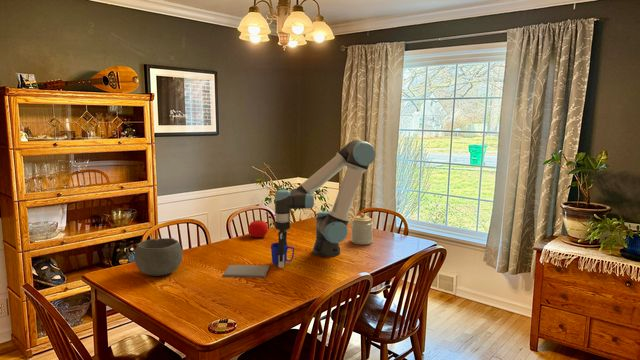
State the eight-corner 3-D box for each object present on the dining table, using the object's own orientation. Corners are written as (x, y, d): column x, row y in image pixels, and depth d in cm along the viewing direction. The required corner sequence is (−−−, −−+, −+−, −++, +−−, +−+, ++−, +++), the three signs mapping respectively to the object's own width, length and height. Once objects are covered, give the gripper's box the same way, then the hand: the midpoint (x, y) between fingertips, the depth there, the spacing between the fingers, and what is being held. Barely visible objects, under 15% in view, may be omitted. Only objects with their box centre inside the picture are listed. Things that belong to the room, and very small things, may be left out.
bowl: (137, 284, 190) (135, 252, 188) (133, 269, 209) (132, 239, 206) (186, 277, 200) (185, 245, 198) (178, 263, 218) (177, 234, 216)
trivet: (269, 267, 214) (269, 265, 214) (265, 277, 200) (265, 275, 200) (229, 266, 215) (229, 264, 214) (222, 276, 201) (222, 274, 201)
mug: (292, 267, 214) (292, 248, 212) (268, 265, 216) (268, 246, 215) (296, 262, 222) (296, 243, 220) (273, 260, 224) (273, 242, 222)
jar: (376, 241, 261) (377, 212, 258) (366, 246, 250) (367, 216, 248) (357, 237, 268) (357, 210, 265) (347, 242, 257) (347, 213, 255)
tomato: (266, 239, 262) (266, 222, 261) (246, 239, 262) (246, 222, 261) (269, 234, 273) (269, 218, 272) (250, 234, 274) (249, 217, 272)
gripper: (277, 215, 227) (278, 256, 230) (271, 226, 205) (272, 271, 208) (292, 215, 226) (292, 256, 230) (287, 226, 204) (287, 271, 208)
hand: (282, 263), depth 219 cm, fingers open, 10 cm apart
